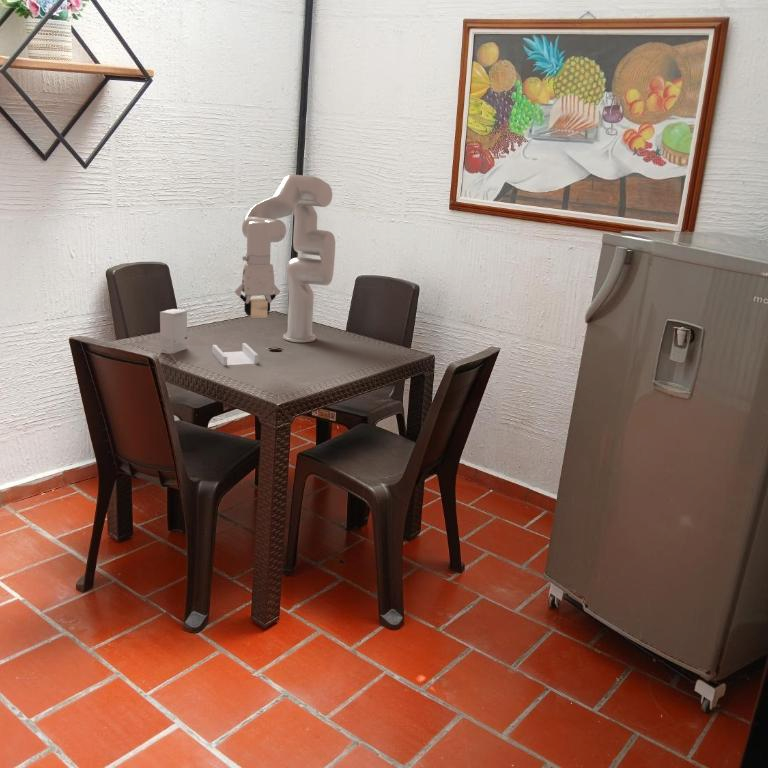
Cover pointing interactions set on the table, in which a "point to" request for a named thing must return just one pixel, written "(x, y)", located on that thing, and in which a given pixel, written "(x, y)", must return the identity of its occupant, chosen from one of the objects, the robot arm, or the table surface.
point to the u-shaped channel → (236, 356)
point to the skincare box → (173, 331)
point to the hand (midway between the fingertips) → (257, 313)
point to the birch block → (258, 307)
